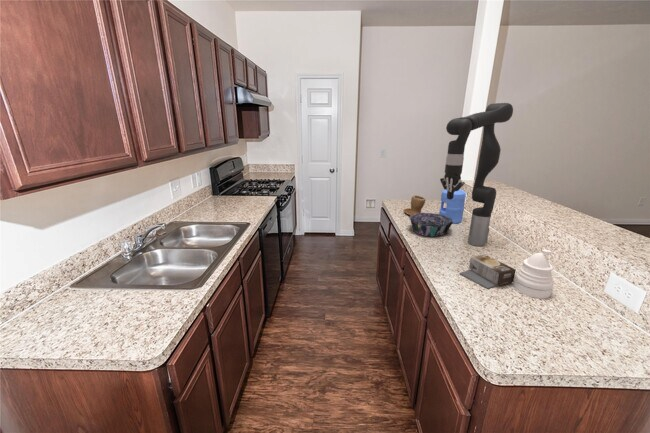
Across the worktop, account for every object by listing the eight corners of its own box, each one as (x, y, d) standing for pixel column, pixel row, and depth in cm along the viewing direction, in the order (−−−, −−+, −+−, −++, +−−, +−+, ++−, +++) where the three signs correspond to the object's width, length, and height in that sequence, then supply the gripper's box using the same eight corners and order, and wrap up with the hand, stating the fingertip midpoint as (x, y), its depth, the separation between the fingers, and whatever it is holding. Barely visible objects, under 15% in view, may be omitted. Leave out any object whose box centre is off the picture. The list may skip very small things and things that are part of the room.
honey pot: (544, 284, 121) (554, 245, 115) (555, 301, 109) (567, 259, 104) (509, 279, 125) (517, 241, 119) (517, 295, 114) (527, 254, 108)
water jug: (463, 219, 203) (469, 180, 195) (460, 225, 191) (466, 184, 182) (440, 215, 211) (445, 178, 203) (436, 221, 199) (440, 182, 190)
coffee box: (485, 253, 134) (516, 269, 119) (483, 265, 136) (514, 282, 121) (470, 256, 131) (500, 273, 116) (468, 269, 133) (497, 286, 118)
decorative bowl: (458, 234, 181) (461, 219, 178) (435, 242, 164) (438, 226, 161) (423, 224, 200) (425, 210, 197) (399, 230, 183) (401, 215, 180)
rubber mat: (480, 267, 135) (480, 266, 135) (509, 281, 123) (509, 280, 123) (459, 274, 130) (459, 272, 129) (487, 289, 117) (487, 288, 117)
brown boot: (426, 217, 207) (428, 197, 203) (411, 218, 205) (413, 198, 201) (416, 211, 222) (418, 193, 217) (402, 212, 220) (404, 194, 215)
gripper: (472, 164, 129) (466, 201, 134) (448, 161, 140) (444, 195, 145) (460, 165, 126) (455, 203, 131) (437, 162, 137) (433, 197, 142)
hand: (449, 198), depth 138 cm, fingers closed
